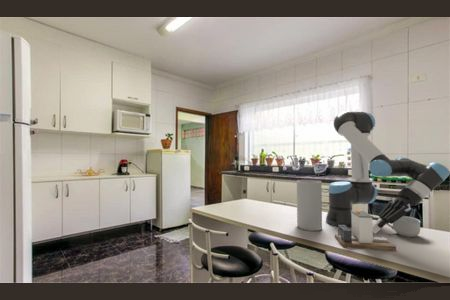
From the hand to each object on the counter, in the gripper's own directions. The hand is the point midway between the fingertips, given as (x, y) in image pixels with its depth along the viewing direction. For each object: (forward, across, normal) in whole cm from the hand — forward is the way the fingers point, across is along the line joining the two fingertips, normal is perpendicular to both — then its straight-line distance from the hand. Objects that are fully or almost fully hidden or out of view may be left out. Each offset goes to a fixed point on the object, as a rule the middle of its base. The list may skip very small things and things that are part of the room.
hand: (371, 230), depth 97 cm
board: (+7, +1, -2) cm, 7 cm away
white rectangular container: (+6, +1, 0) cm, 6 cm away
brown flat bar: (+5, +1, -1) cm, 6 cm away
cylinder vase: (+20, +20, +12) cm, 30 cm away
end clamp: (+11, +1, +5) cm, 12 cm away
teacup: (-10, +17, -19) cm, 27 cm away
